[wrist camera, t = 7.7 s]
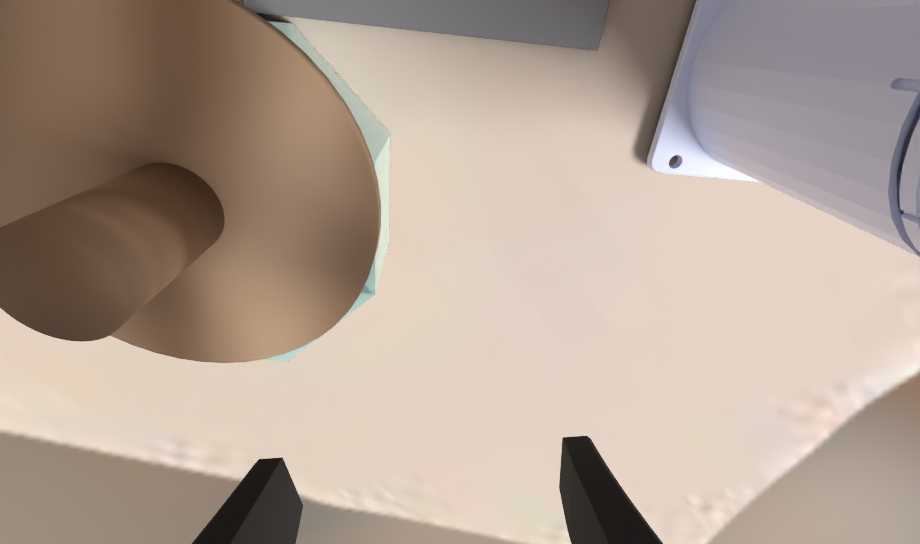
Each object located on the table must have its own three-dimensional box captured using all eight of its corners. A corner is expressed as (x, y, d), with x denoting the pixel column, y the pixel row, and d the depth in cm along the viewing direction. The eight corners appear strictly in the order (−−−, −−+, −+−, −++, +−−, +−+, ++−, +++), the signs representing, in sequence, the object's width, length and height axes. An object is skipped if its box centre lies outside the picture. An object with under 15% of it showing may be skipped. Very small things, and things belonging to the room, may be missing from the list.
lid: (397, 17, 11) (361, 5, 6) (369, 364, 17) (340, 488, 12) (-118, -81, 10) (-617, -182, 5) (42, 329, 16) (-128, 453, 11)
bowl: (392, 34, 15) (375, 34, 11) (387, 309, 20) (375, 365, 17) (38, -5, 14) (-99, -18, 10) (135, 292, 20) (67, 349, 16)
